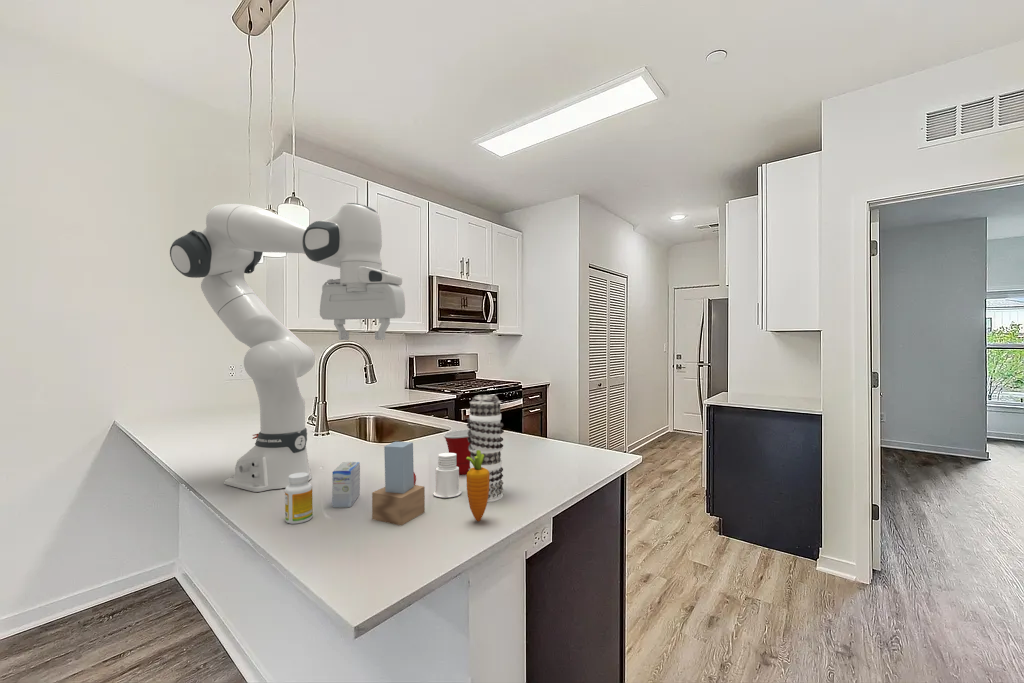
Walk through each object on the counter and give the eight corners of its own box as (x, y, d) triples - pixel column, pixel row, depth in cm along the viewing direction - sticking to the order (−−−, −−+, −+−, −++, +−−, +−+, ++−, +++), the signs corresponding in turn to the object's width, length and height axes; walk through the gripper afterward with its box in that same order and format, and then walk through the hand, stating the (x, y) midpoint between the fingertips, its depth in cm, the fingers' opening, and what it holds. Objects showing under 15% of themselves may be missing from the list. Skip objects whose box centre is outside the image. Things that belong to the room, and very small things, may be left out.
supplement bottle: (318, 515, 99) (317, 472, 99) (301, 525, 94) (301, 479, 94) (297, 513, 100) (296, 470, 100) (279, 523, 95) (279, 477, 95)
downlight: (459, 499, 108) (459, 458, 109) (430, 499, 108) (430, 458, 109) (463, 489, 116) (463, 451, 117) (436, 489, 116) (436, 451, 117)
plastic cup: (449, 466, 137) (448, 427, 137) (483, 467, 136) (483, 428, 135) (438, 476, 126) (438, 434, 126) (475, 478, 125) (475, 435, 125)
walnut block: (372, 520, 97) (372, 492, 97) (396, 507, 104) (396, 481, 104) (401, 526, 93) (401, 497, 93) (424, 513, 100) (424, 486, 100)
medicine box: (342, 496, 111) (341, 461, 111) (360, 495, 111) (360, 461, 111) (332, 508, 103) (331, 471, 103) (351, 507, 104) (351, 470, 104)
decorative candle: (459, 496, 110) (458, 396, 110) (486, 487, 117) (485, 392, 117) (484, 505, 104) (484, 399, 104) (511, 495, 111) (511, 395, 111)
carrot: (480, 528, 92) (480, 455, 91) (461, 523, 94) (461, 452, 94) (494, 519, 96) (494, 450, 96) (475, 515, 98) (475, 447, 98)
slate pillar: (385, 491, 97) (384, 446, 97) (396, 485, 101) (395, 441, 101) (403, 493, 96) (402, 447, 96) (413, 486, 100) (412, 442, 100)
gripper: (312, 277, 99) (313, 339, 99) (392, 273, 93) (393, 339, 93) (332, 281, 105) (332, 339, 105) (408, 277, 99) (409, 339, 99)
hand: (361, 339), depth 99 cm, fingers open, 8 cm apart
